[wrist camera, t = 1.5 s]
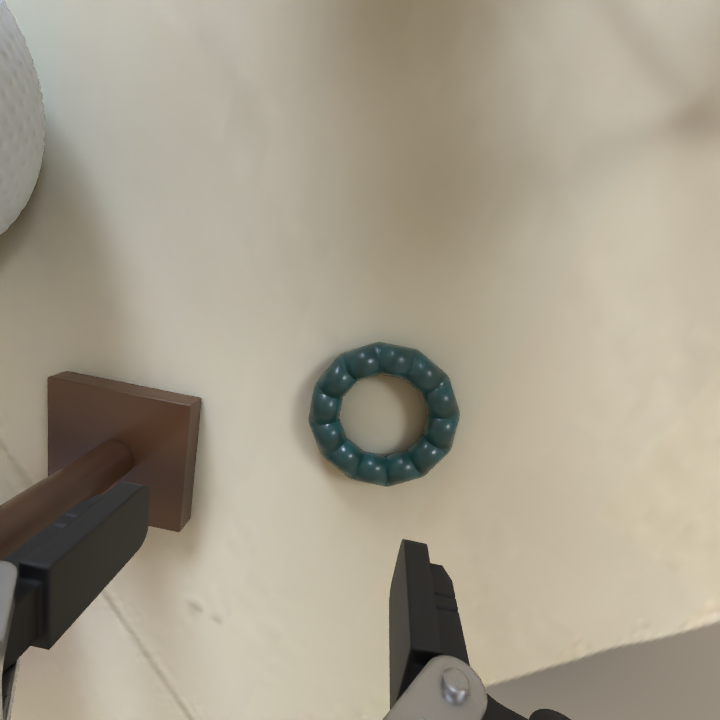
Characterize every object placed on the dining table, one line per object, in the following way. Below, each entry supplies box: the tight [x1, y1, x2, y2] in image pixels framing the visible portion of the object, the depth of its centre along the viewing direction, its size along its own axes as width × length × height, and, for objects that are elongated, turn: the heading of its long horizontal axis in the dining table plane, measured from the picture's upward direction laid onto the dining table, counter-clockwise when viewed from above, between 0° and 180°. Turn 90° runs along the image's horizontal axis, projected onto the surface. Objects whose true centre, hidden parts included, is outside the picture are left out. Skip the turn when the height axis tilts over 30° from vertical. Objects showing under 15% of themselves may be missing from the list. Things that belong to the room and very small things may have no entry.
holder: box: [0, 371, 201, 561], centre depth 20 cm, size 9×9×14 cm
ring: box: [309, 342, 460, 486], centre depth 23 cm, size 9×9×2 cm
